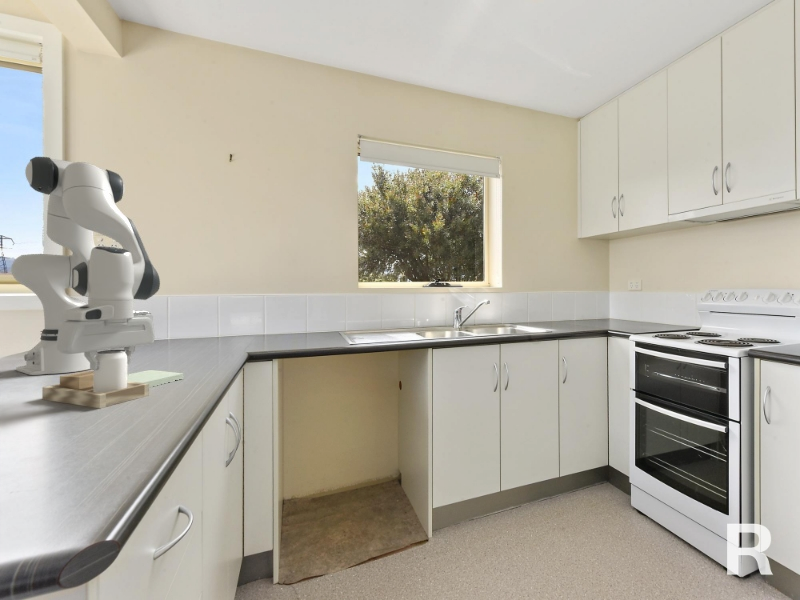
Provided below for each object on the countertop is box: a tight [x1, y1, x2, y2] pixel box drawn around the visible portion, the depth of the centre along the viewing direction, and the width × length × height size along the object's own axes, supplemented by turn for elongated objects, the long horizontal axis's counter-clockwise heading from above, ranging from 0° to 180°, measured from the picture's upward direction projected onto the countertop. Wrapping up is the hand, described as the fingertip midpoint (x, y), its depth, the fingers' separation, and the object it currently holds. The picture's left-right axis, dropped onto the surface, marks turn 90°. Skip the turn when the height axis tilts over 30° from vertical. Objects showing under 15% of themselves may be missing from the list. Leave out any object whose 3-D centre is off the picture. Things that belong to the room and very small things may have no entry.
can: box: [93, 349, 128, 393], centre depth 86 cm, size 6×6×12 cm
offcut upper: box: [59, 370, 94, 389], centre depth 89 cm, size 6×7×3 cm
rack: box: [41, 381, 150, 409], centre depth 88 cm, size 20×11×3 cm, turn 73°
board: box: [127, 369, 185, 388], centre depth 103 cm, size 14×14×2 cm
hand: (110, 366), depth 86 cm, fingers closed on can, 5 cm apart
